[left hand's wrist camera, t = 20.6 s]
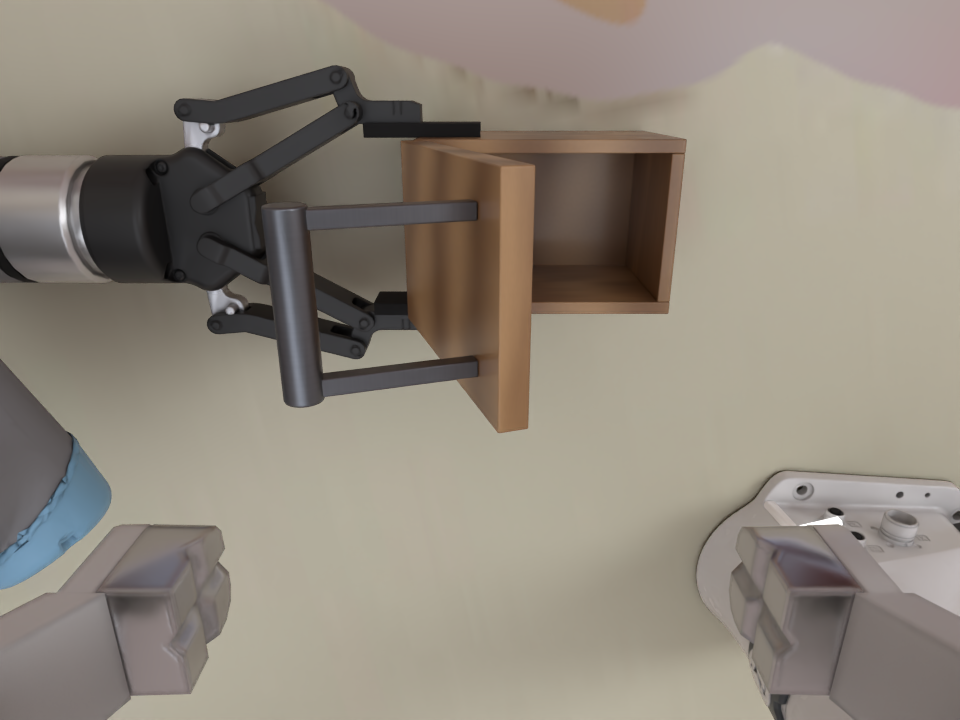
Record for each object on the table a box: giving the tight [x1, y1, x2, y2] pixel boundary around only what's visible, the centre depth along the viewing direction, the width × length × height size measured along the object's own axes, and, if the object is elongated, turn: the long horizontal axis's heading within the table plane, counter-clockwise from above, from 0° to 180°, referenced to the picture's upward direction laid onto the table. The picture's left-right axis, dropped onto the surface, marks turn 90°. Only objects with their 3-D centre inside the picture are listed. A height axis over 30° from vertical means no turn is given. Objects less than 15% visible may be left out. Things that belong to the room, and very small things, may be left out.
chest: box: [414, 131, 687, 314], centre depth 42 cm, size 14×10×10 cm, turn 90°
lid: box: [261, 140, 535, 433], centre depth 29 cm, size 15×10×9 cm
